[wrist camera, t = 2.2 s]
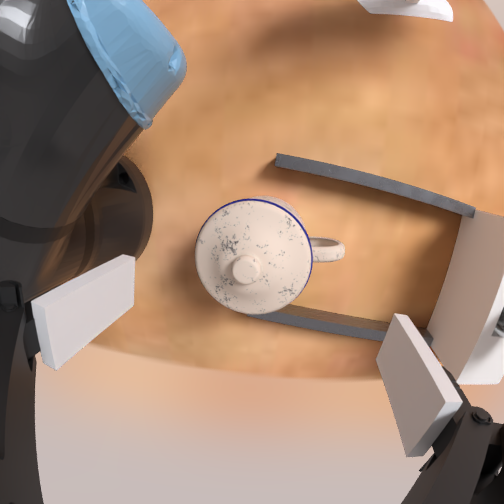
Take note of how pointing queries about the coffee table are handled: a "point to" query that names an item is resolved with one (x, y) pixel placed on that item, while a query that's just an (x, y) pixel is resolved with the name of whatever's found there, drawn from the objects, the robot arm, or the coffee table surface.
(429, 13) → the heart sculpture
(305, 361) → the coffee table surface
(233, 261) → the teacup with lid
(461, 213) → the pair of grey rails
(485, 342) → the end cabinet
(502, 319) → the red knob
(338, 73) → the coffee table surface
